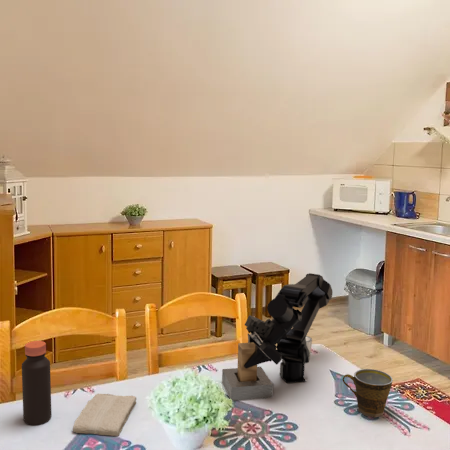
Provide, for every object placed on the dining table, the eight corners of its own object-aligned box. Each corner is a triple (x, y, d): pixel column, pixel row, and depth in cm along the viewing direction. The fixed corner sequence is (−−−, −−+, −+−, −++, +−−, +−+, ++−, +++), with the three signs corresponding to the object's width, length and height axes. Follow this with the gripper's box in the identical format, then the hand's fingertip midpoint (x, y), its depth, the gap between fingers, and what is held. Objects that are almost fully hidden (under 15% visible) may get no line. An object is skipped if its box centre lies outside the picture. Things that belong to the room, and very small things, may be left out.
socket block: (260, 378, 159) (260, 366, 158) (272, 397, 147) (272, 384, 147) (222, 381, 156) (222, 369, 156) (231, 400, 145) (231, 387, 144)
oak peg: (252, 380, 154) (253, 342, 153) (256, 387, 150) (257, 348, 148) (237, 381, 153) (238, 343, 152) (240, 389, 149) (242, 349, 147)
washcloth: (137, 403, 143) (137, 392, 143) (119, 439, 126) (119, 427, 125) (95, 400, 144) (95, 389, 144) (71, 435, 126) (71, 424, 126)
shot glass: (310, 363, 171) (311, 343, 170) (289, 361, 173) (290, 341, 172) (311, 355, 178) (312, 335, 177) (291, 353, 179) (292, 333, 178)
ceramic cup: (390, 406, 144) (393, 372, 143) (389, 424, 135) (392, 387, 133) (342, 397, 149) (345, 364, 147) (338, 414, 139) (340, 379, 138)
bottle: (25, 428, 128) (22, 351, 125) (21, 415, 134) (19, 341, 131) (53, 422, 131) (51, 346, 128) (49, 409, 137) (47, 337, 134)
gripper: (253, 297, 158) (217, 334, 157) (272, 318, 140) (231, 359, 139) (277, 321, 161) (241, 357, 160) (298, 344, 143) (258, 384, 142)
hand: (242, 363), depth 150 cm, fingers closed on oak peg, 4 cm apart
